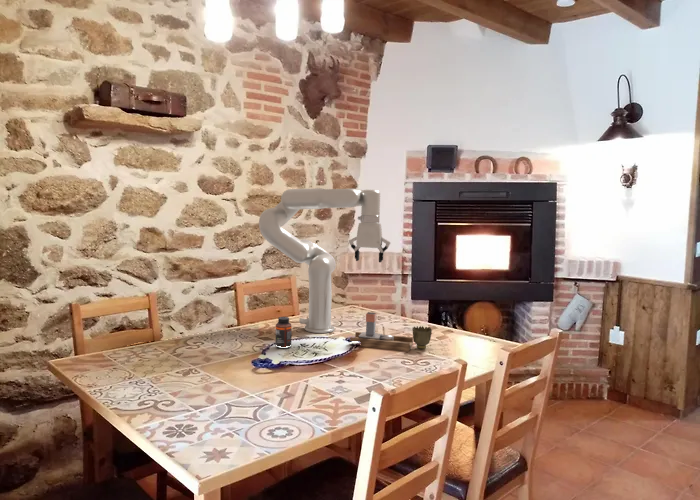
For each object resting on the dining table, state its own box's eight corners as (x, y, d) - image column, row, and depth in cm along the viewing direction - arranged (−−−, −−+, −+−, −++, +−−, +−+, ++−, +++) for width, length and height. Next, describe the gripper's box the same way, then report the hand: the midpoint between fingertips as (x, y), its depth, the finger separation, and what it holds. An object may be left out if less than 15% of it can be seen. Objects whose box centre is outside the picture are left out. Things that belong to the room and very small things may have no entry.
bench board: (349, 345, 216) (349, 338, 216) (356, 338, 226) (356, 331, 225) (408, 351, 210) (409, 343, 210) (412, 344, 220) (413, 337, 220)
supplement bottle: (292, 345, 213) (293, 316, 212) (289, 350, 207) (290, 320, 206) (277, 344, 214) (277, 315, 213) (273, 349, 208) (274, 319, 207)
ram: (358, 340, 217) (359, 314, 216) (362, 336, 223) (363, 310, 222) (391, 344, 214) (392, 317, 213) (394, 340, 220) (395, 313, 218)
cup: (432, 351, 210) (433, 331, 209) (412, 351, 211) (413, 330, 210) (429, 346, 218) (430, 326, 217) (410, 345, 218) (411, 325, 217)
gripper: (347, 219, 228) (346, 261, 230) (389, 221, 224) (387, 263, 226) (352, 218, 235) (350, 259, 237) (392, 220, 231) (391, 261, 233)
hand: (368, 261), depth 231 cm, fingers open, 9 cm apart
